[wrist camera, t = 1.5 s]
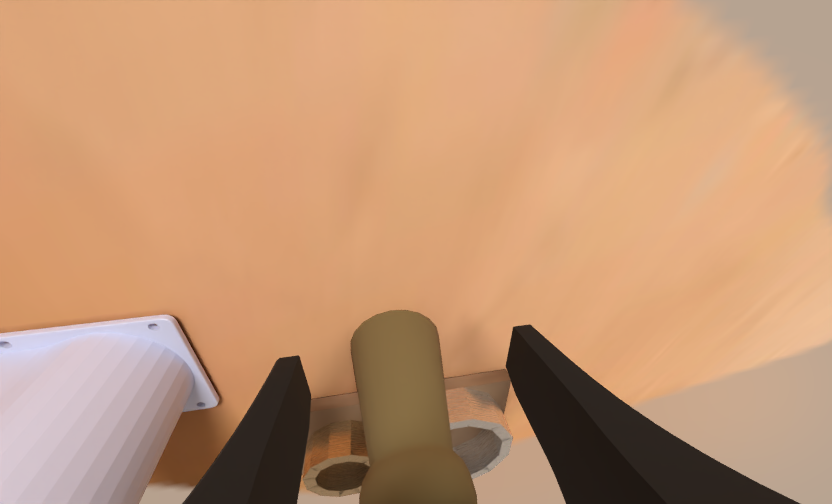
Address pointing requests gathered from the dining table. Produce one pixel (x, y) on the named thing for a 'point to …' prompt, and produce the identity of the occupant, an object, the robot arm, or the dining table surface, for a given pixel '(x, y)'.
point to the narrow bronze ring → (336, 459)
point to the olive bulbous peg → (406, 414)
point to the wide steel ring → (479, 413)
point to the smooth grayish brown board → (488, 382)
